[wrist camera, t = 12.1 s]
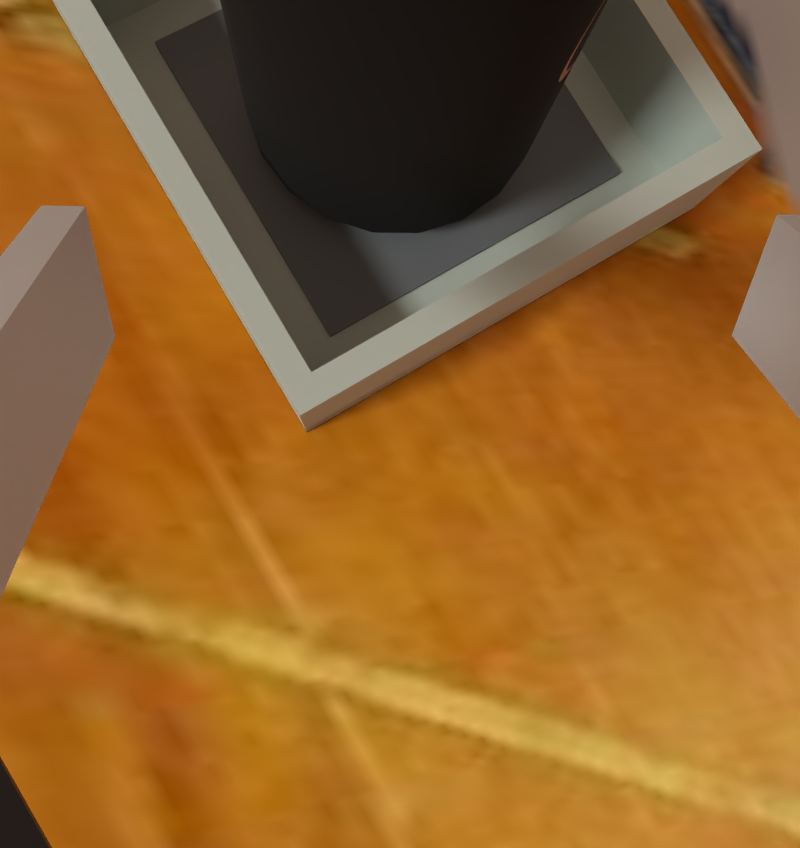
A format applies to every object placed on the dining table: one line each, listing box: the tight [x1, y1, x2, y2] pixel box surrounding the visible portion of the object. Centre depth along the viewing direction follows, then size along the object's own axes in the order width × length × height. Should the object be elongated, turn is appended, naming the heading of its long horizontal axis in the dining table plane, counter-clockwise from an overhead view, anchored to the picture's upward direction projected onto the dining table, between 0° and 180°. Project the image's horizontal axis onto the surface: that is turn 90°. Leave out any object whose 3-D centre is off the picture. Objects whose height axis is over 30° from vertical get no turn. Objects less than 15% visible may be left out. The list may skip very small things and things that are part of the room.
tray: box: [53, 0, 762, 432], centre depth 27 cm, size 18×18×5 cm
